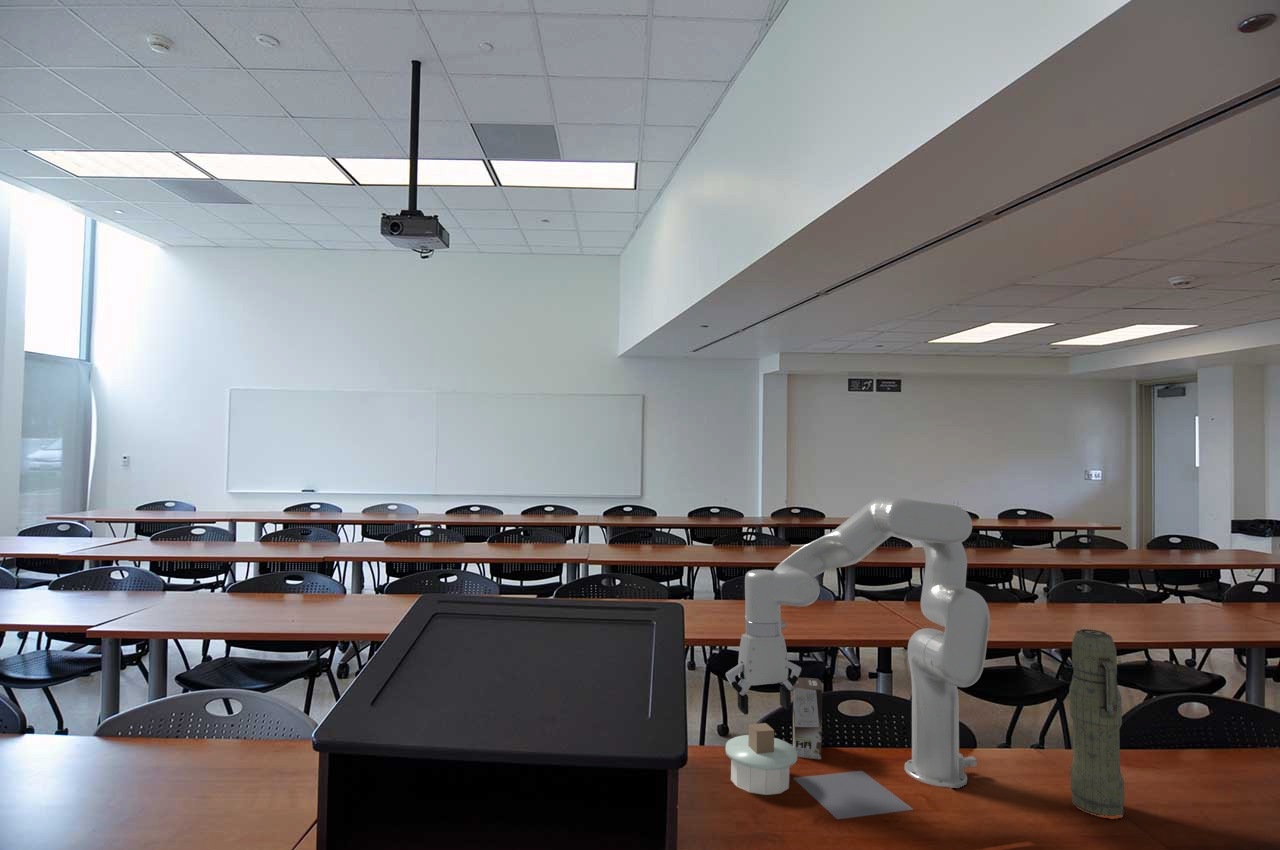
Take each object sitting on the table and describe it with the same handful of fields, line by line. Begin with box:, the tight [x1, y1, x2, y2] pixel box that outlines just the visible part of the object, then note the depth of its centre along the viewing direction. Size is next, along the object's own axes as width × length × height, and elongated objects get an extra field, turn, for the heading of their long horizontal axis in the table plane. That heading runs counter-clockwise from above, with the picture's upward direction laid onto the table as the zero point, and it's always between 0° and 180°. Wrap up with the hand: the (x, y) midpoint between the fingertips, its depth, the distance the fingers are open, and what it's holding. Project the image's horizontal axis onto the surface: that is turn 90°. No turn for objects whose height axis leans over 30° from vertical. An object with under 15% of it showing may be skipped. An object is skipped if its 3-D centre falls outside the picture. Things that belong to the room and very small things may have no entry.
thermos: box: [1068, 628, 1125, 816], centre depth 133 cm, size 9×12×35 cm
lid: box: [725, 722, 798, 770], centre depth 138 cm, size 15×15×6 cm
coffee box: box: [792, 677, 823, 760], centre depth 155 cm, size 9×6×16 cm
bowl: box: [730, 759, 790, 796], centre depth 138 cm, size 12×12×6 cm
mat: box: [792, 770, 914, 820], centre depth 133 cm, size 17×17×1 cm
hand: (764, 709), depth 139 cm, fingers open, 9 cm apart
